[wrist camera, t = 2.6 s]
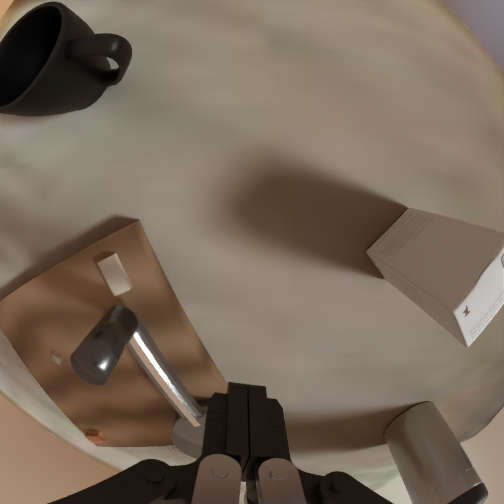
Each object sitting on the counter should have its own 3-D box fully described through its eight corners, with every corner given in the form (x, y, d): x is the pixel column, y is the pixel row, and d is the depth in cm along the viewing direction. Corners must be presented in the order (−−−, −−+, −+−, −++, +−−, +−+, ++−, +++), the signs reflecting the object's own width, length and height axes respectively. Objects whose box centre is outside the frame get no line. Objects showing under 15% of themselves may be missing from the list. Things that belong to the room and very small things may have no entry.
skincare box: (387, 282, 23) (466, 356, 12) (361, 248, 22) (448, 316, 11) (429, 237, 22) (522, 284, 10) (408, 201, 21) (512, 233, 9)
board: (251, 420, 28) (252, 439, 25) (100, 437, 30) (94, 450, 27) (139, 219, 21) (124, 227, 18) (-1, 300, 23) (-14, 310, 20)
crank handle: (269, 437, 26) (274, 497, 18) (199, 450, 27) (193, 504, 19) (171, 274, 20) (132, 335, 12) (88, 307, 21) (37, 361, 13)
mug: (145, 135, 19) (81, 116, 10) (42, 121, 18) (-28, 113, 9) (177, 46, 17) (141, -16, 8) (70, 45, 16) (13, 13, 7)
